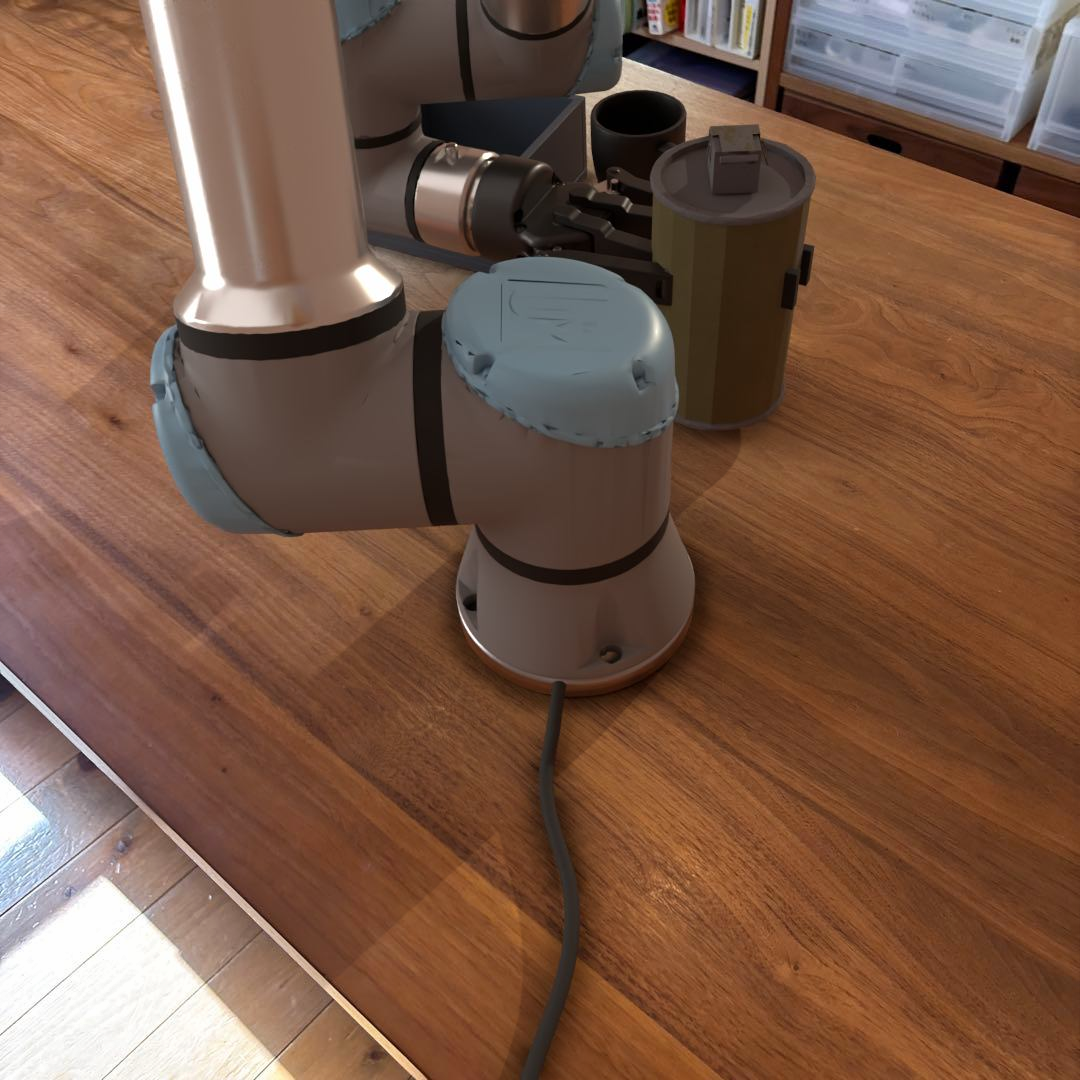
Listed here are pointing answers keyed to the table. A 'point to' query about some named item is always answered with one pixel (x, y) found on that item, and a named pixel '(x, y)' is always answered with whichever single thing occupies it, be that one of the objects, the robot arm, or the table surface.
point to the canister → (729, 269)
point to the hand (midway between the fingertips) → (802, 277)
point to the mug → (635, 131)
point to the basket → (502, 149)
